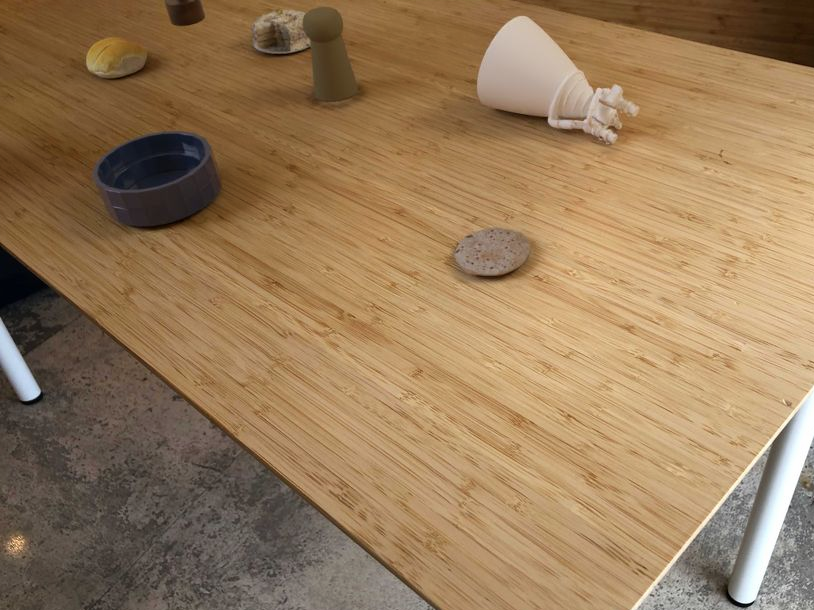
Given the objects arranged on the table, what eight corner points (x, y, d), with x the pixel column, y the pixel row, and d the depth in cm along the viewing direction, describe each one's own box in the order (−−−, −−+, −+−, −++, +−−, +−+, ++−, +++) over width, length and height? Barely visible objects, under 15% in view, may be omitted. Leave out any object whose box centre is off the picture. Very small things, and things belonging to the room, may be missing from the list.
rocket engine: (647, 62, 93) (517, -2, 99) (590, 153, 94) (465, 84, 101) (661, 101, 104) (543, 41, 110) (609, 183, 105) (495, 118, 111)
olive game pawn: (306, 99, 115) (288, 18, 107) (326, 79, 119) (310, 0, 111) (346, 103, 113) (330, 21, 106) (365, 82, 117) (351, 2, 110)
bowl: (103, 239, 94) (85, 201, 91) (114, 178, 104) (99, 142, 100) (222, 218, 95) (209, 179, 92) (223, 159, 105) (211, 123, 101)
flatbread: (475, 226, 90) (474, 218, 89) (542, 240, 87) (541, 232, 86) (441, 271, 85) (440, 263, 84) (510, 288, 82) (510, 280, 81)
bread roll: (128, 50, 132) (119, 24, 129) (156, 65, 127) (147, 39, 124) (79, 69, 128) (68, 43, 125) (106, 85, 123) (96, 59, 120)
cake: (267, 32, 134) (261, -4, 131) (327, 33, 132) (322, -3, 129) (242, 54, 126) (234, 17, 123) (305, 56, 125) (299, 19, 121)
